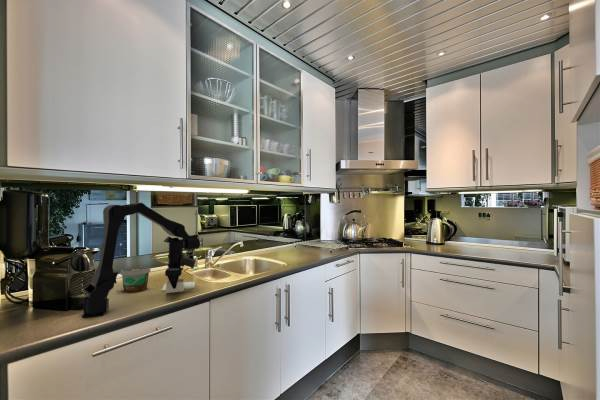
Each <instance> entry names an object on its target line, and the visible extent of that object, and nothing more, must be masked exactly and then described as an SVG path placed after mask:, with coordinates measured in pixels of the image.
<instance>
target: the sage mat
mask: <svg viewBox="0 0 600 400" xmlns="http://www.w3.org/2000/svg"><path fill="white" fill-rule="evenodd" d="M195 287H196V281H184V291H185V290H192V289H193V290H194V289H195ZM161 292H166V283H164V284H163V286H162V289H161Z"/></svg>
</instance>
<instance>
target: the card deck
mask: <svg viewBox="0 0 600 400" xmlns="http://www.w3.org/2000/svg"><path fill="white" fill-rule="evenodd" d="M184 282H185V279H184V278H178V281H177V285H176V289H173V287H172V285H171V283H170V281H169V279H167V280H166V282H165V284H166V291H165V293H166V294H169V293H177V292H184V291H185V290H184Z"/></svg>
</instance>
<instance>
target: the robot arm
mask: <svg viewBox="0 0 600 400" xmlns="http://www.w3.org/2000/svg"><path fill="white" fill-rule="evenodd" d="M102 211H103V212H102V217H103V225H104V230H103V231H104V233H103V236H102V243H101V249H100V255H99V260H98V266H97V267H96V269H95V271H94V273H93V275H92V277H91V280H90V283H89V284H88V285H87V286H86V287H85V288H84V289H82V292H83V294H84V296H85V297H84V298H83V314H82V315H81V318H90V317H92V318H93V317H101V316H104V315H105V314H106V312H108V310H109V307H110V306H109V305H110V304H109V303H110V300H109V299H110V298H108V296H109V294H110V291H111V290H112V289H114V286H115V284H117V283H118V282H117V277H118V274H119V273H118V271H116V270H114V268H113V265H114V259H115V255H116V247H117V242H118V236H119V230H120V228H121V226H122V224H124V220H125V218H126V216H131V215H135V214H139V215H141V216H142V217H144V218H145V219H147V220H149V221H150V222H152V223H154V224H156V225H158V226H159V227H160V228H161V229H162V230H163V231H164V232H165V233H166V234H168V236H167V237H166V238H165V239H164V240H163V242H164V243H168V255H167V258H168V264H167V267H166V269H165V273H164V276H165V277H167V280H169V281H170V283H171V285H172V287H173V289H176V285H177V281H178V279H180V276H181V275H182V274H183V270H184V267H189V268H191V269H194V268H195V264H196V263H197V259H196V258H195V257H194V255H192V254H189V255H188V256H184V252H183V250H184V251H191V250H198V249H199V248H200V247H201V240H200V238H199V237H198V235H199V234H191V235H189V234H188V232H187V231H186V227H185V225H184V224H182V223H179V222H177V221H174V220H171V219H168V218H167V217H165V216H163V215H162V214H160V213H158V212H157V211H155V210H154V209H152V208H150V207H148V206H147V205H146V204H145V203H143V202H133V203H130V204H123V205H120V204H109V205H107V206H105V207H104V208H103V210H102ZM171 236H172V237H171Z"/></svg>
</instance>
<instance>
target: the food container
mask: <svg viewBox="0 0 600 400" xmlns="http://www.w3.org/2000/svg"><path fill="white" fill-rule="evenodd" d="M150 272H151V268H150V267H146V268H143V269H142V268H133V269H125V270H124V269H123V268H121V270H120V272H119V273H120V276H121V278H122V280H121V281H122V289H123V292H124V293H129V294H131V293H132V294H134V293H140V292H144V291H145V290H147V289H148V281H149V275H150Z"/></svg>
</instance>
